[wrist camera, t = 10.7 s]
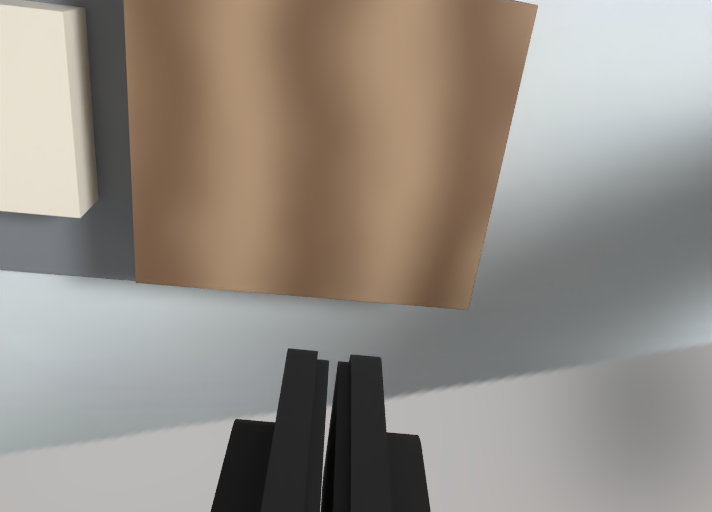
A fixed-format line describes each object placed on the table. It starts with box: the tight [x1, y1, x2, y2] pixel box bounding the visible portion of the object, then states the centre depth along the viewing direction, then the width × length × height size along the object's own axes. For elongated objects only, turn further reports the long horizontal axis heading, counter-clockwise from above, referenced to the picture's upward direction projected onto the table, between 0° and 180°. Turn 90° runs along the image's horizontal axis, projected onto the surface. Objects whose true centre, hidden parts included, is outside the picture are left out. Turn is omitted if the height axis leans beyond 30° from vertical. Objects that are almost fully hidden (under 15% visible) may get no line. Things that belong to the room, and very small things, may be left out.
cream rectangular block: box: [0, 0, 99, 218], centre depth 27 cm, size 6×9×2 cm, turn 173°
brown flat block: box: [124, 0, 538, 310], centre depth 28 cm, size 16×14×4 cm
